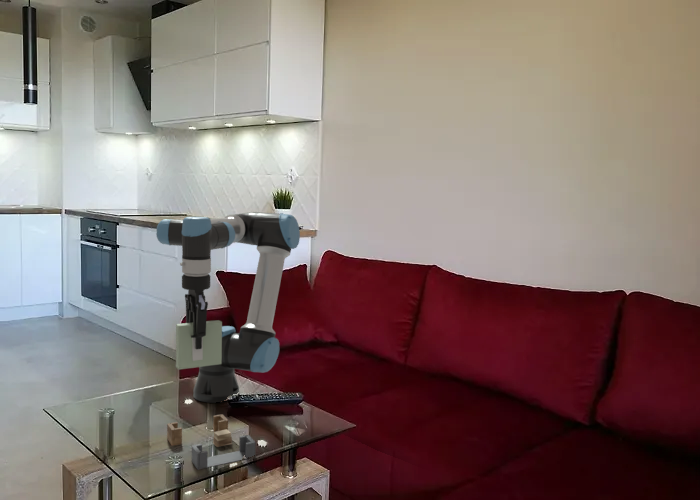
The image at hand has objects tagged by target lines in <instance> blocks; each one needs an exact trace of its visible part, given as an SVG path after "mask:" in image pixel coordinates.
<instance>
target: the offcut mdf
mask: <svg viewBox="0 0 700 500" xmlns="http://www.w3.org/2000/svg"><path fill="white" fill-rule="evenodd" d="M231 437H232V432H231V431H229V429H228V430H227V429H226V430H221V431H215V432H214V431H213V439H214V438H215V439H216V440H217V441H220V440H224V439H229V438H231Z"/></svg>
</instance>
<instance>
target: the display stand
mask: <svg viewBox="0 0 700 500" xmlns="http://www.w3.org/2000/svg"><path fill="white" fill-rule="evenodd" d="M238 438H239V441H238V442H239V443H238V445H239V447H238V448H239V449H238V450H237V451H236V450H235V451H232V452H227V453H222V454H217V455H212V456H208V455H209V454H208V453H209V452H208V450H204V451H203V444H202V443H197V444H193V445H191V462H192V464H193V465H194V467H195V468H196V469H197V470H202V469H206V468H207V469H208V468H212V467H215V466H217V467H218V466H220V465H226V464H231V463H235V462H240V460H241V461H243V460H242V458H243V456H244V455H245V457H246V458H248V457H252V456H254V455H255V456H256V441H255V439H253V437H251V435H249V434H244V435H239V437H238Z"/></svg>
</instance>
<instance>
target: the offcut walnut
mask: <svg viewBox="0 0 700 500" xmlns="http://www.w3.org/2000/svg"><path fill="white" fill-rule="evenodd" d="M213 442H214V443H215V444H216V445H217V446H219V447H223V446H222V445H224V446H226V445H225V444H229V443H232V442H233V438H232V436H231V438H229V439H224V440H220V441H217V440H216V439H215V438H214V437H213ZM213 442H212V443H213ZM232 444H233V443H232ZM229 445H230V444H229Z"/></svg>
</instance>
